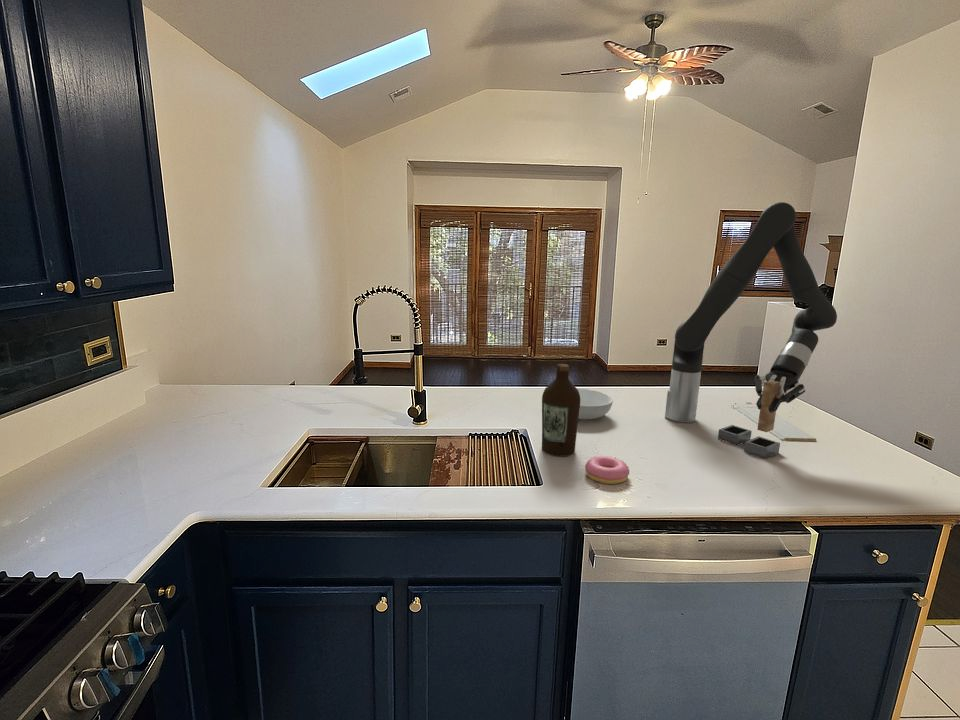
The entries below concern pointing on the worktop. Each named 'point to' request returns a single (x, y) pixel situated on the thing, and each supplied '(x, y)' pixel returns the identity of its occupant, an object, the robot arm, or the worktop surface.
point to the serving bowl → (593, 404)
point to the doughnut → (607, 470)
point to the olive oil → (560, 414)
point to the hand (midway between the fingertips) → (764, 409)
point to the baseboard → (777, 425)
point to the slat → (767, 406)
